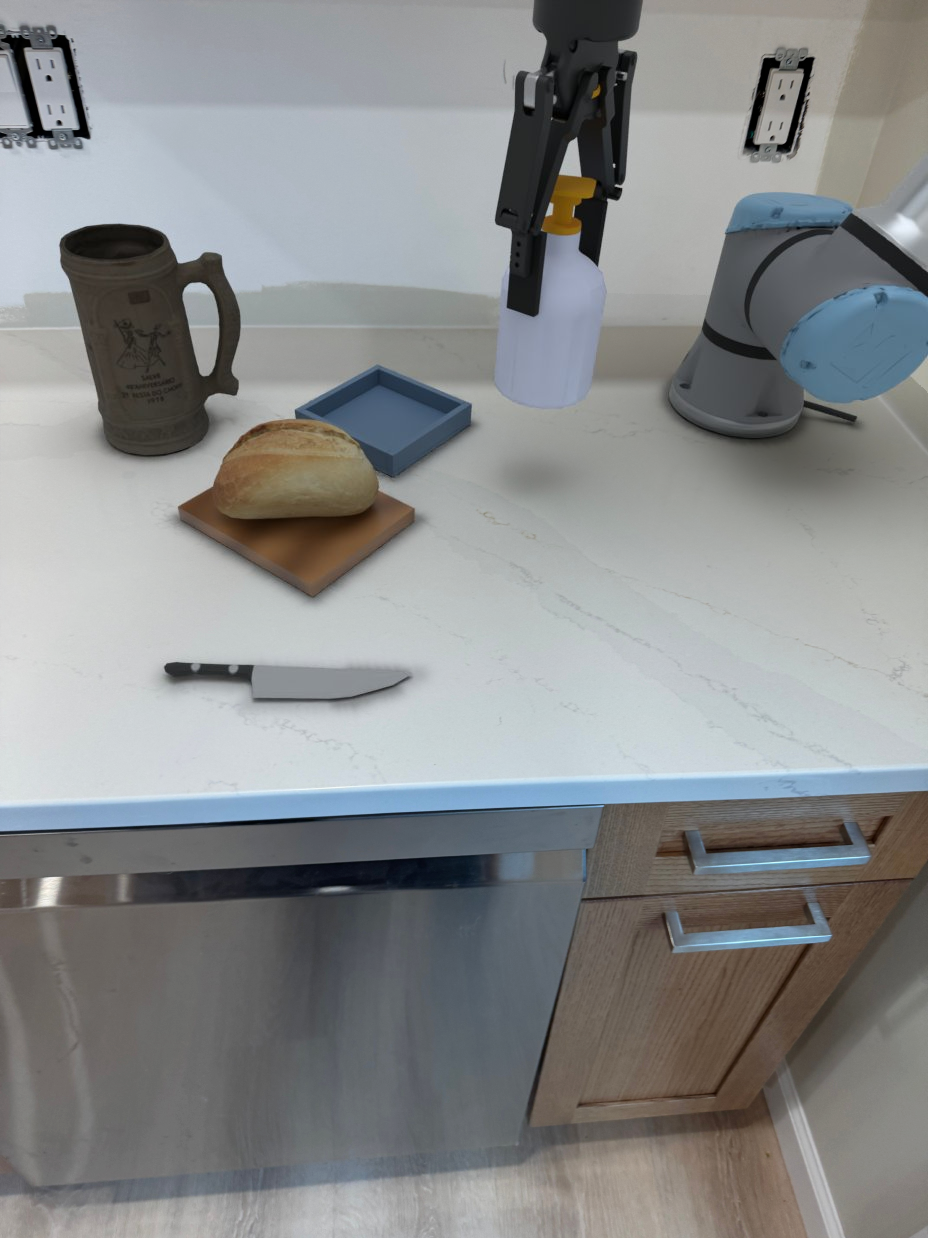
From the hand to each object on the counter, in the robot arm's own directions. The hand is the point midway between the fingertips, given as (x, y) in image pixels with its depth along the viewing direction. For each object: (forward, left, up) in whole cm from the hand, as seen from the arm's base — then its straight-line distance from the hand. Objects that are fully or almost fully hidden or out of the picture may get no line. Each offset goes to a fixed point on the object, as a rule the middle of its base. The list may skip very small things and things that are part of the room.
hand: (553, 292), depth 71 cm
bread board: (+13, +20, -19) cm, 31 cm away
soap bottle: (0, 0, -9) cm, 9 cm away
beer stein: (+35, +16, -20) cm, 43 cm away
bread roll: (+13, +20, -18) cm, 30 cm away
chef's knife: (-1, +36, -19) cm, 41 cm away
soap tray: (+18, +2, -19) cm, 26 cm away
